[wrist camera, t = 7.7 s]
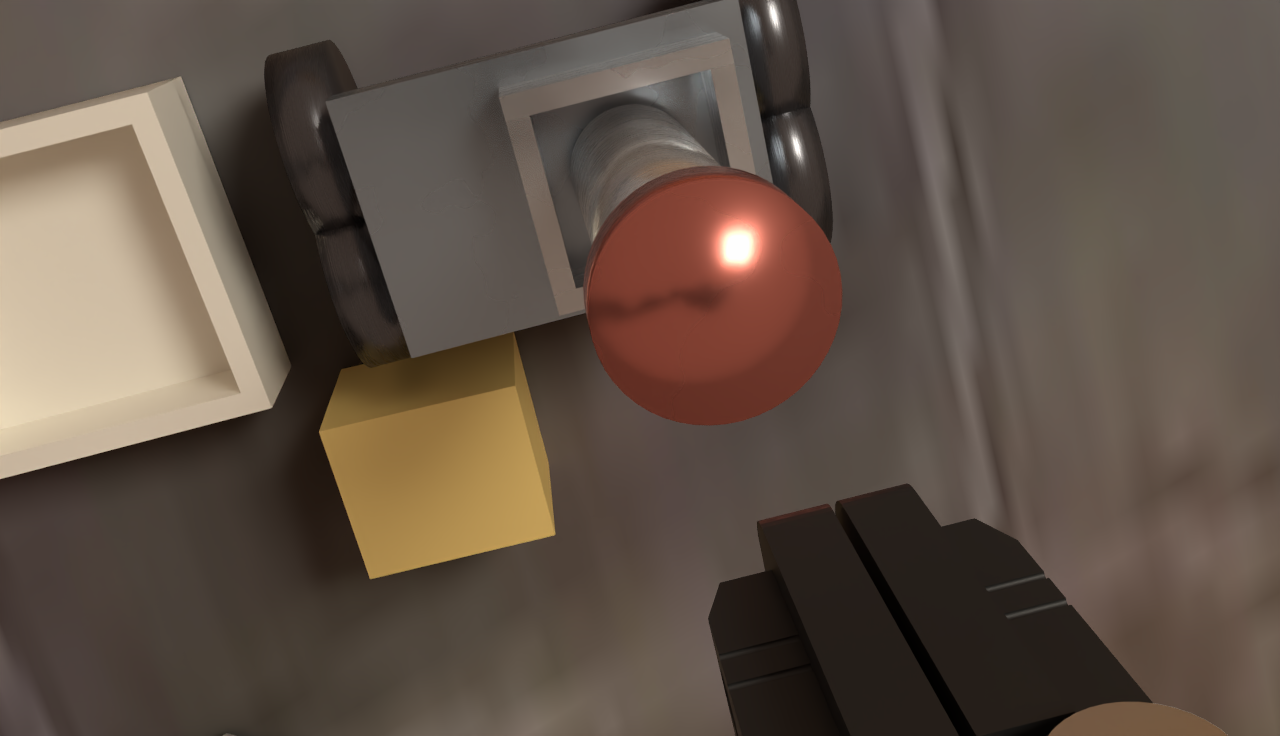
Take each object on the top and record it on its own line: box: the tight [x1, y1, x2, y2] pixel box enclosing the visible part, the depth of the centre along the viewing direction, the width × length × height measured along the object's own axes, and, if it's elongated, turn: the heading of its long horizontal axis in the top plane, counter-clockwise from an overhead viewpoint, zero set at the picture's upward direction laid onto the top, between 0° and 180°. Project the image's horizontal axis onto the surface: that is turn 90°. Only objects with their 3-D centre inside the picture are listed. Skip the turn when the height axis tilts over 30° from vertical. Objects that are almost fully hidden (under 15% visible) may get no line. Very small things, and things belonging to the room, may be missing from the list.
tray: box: [0, 76, 291, 479], centre depth 29 cm, size 8×8×3 cm
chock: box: [319, 332, 555, 579], centre depth 31 cm, size 5×4×4 cm
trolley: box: [264, 0, 833, 368], centre depth 27 cm, size 12×8×7 cm, turn 103°
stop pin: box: [570, 104, 842, 425], centre depth 20 cm, size 4×4×10 cm
